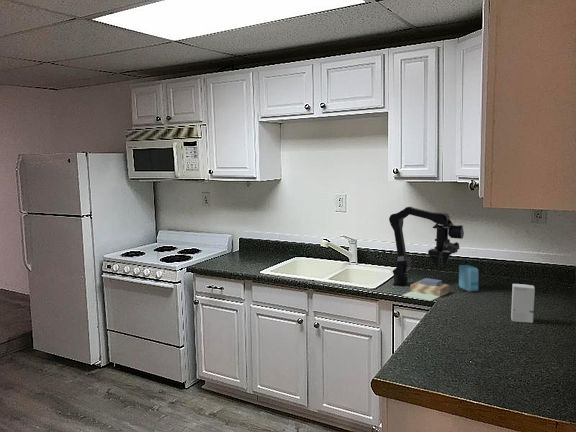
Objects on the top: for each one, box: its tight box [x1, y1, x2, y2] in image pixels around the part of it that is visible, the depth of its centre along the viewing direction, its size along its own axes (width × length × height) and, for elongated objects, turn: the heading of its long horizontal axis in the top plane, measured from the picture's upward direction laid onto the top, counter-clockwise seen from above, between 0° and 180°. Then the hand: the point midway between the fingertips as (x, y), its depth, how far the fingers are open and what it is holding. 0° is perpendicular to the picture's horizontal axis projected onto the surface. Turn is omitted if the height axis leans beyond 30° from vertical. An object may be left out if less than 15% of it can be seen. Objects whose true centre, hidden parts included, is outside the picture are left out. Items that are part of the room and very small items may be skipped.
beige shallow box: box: [409, 280, 450, 298], centre depth 252 cm, size 16×11×4 cm
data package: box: [458, 264, 479, 293], centre depth 256 cm, size 12×4×12 cm, turn 9°
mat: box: [401, 291, 440, 302], centre depth 245 cm, size 16×9×1 cm, turn 48°
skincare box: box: [510, 283, 536, 324], centre depth 203 cm, size 8×6×15 cm
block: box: [419, 277, 443, 286], centre depth 253 cm, size 9×6×2 cm, turn 48°
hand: (441, 266), depth 257 cm, fingers open, 9 cm apart
